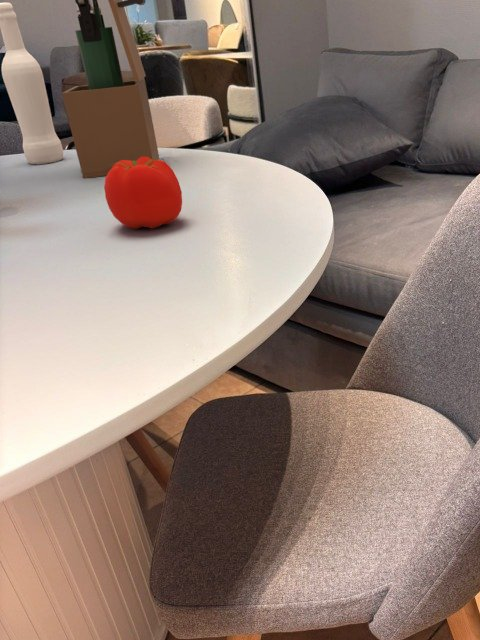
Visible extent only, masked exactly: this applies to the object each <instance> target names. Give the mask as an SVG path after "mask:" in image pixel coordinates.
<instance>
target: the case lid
mask: <svg viewBox="0 0 480 640" xmlns="http://www.w3.org/2000/svg"><path fill="white" fill-rule="evenodd" d="M146 1H147V0H108V4H109V7H110V10H111V13H112V16H113V19H114V22H115V25H116V28H117V31H118V35H119V37H120V40H121V44H122V47H123V49H124V53H125V55H126V58H127V61H128V64H129V67H130V70H131V74H132V76H133V80H135V83H137V82H140V81H141V80H142V79H145V77H146V76H147V75H146V71H145V69H144V65H143V63H142V59H141V56H140V53H139V50H138V47H137V43H136V40H135V37H134V34H133V31H132V28H131V24H130V21H129V17H128V15H127V12H126V9H125V8H126V7H129V6H133V5H139V6H144V5H145V4H146Z"/></svg>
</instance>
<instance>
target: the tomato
mask: <svg viewBox="0 0 480 640" xmlns="http://www.w3.org/2000/svg"><path fill="white" fill-rule="evenodd" d="M154 160H157V159H150V158H148V157H140V158H139V159H138V160H137V161H136V162H135V161H129V160H121V161H119V162H117V163H116V164H115V163H114V164H115V165H114V166H113V167H112V169H111V170H110V171H109V172H108V174H107V176H105V177H104V187H103V188H104V194H105V195H104V196H105V201H106V203H107V206H108V209H109V210H110V212H111V214H112V215H113V217H114V218H115V219H116V220H117V221H118V222H119V223H120V224H122V225H124V226H126V227H127V228H130V229H141V228H143V227H144V228H150V229H156V228H158V227H161V226H162V225H169V224H171V223H173V222H174V221H175V220H177V218H178V217H179V216H180V213H181V212H182V207H183V193H182V189H181V186H180V182H179V179H178V177H177V176H176V174H175V172H174V170H173V169H172V168H171V166H170V165H169V164H168V163H167V162H166V161H164V160H161V159H158V160H157V161H154ZM112 165H113V164H112Z"/></svg>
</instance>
